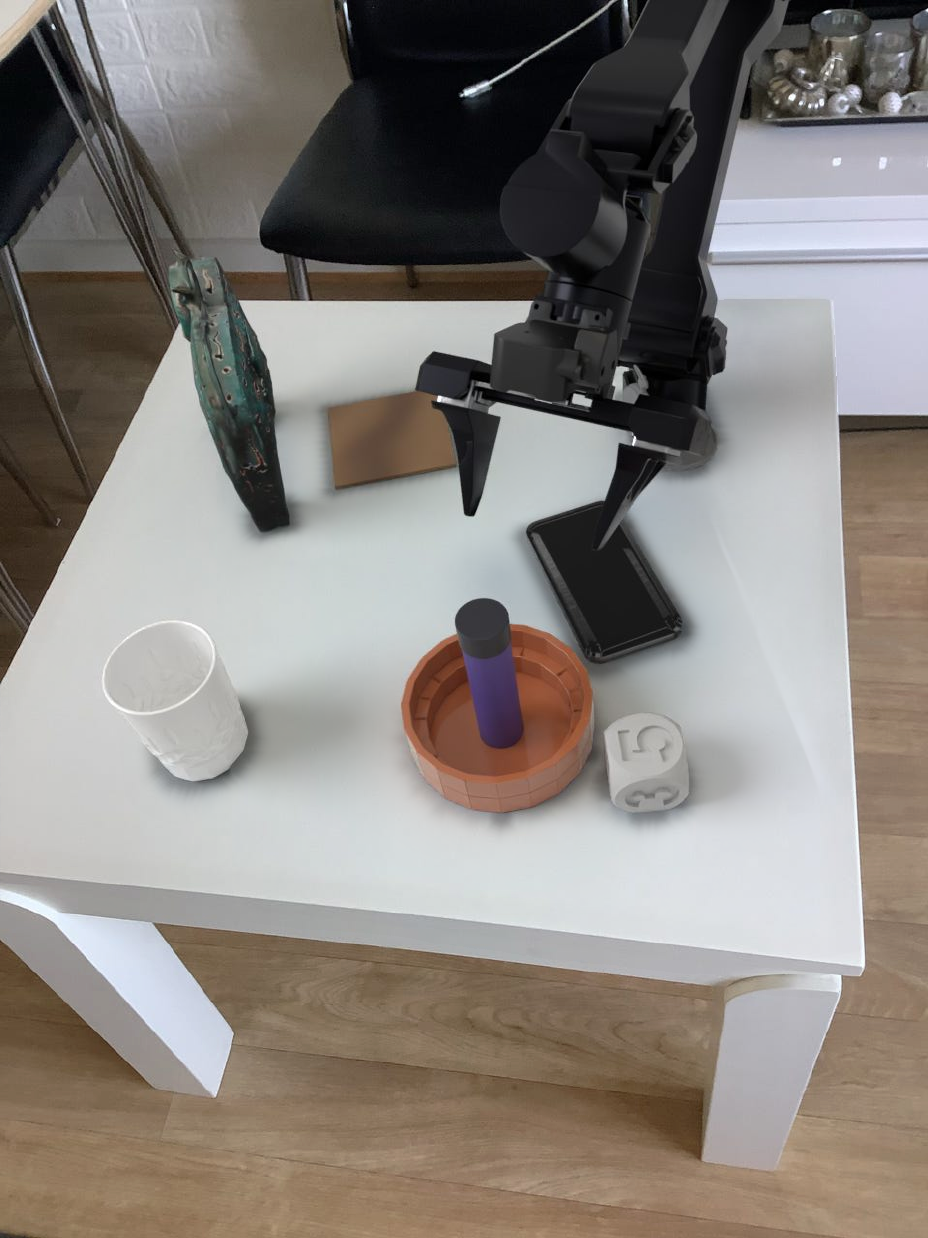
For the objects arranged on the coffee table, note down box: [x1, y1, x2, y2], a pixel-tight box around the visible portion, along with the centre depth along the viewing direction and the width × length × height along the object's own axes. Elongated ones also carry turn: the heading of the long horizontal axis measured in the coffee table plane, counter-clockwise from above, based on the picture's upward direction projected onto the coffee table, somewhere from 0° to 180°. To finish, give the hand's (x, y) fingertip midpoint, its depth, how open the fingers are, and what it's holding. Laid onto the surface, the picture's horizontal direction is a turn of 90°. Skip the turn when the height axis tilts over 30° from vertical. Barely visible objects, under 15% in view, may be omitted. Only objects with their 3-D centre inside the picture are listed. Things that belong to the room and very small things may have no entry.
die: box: [602, 712, 690, 814], centre depth 70 cm, size 5×5×5 cm
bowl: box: [400, 623, 596, 813], centre depth 74 cm, size 13×13×4 cm
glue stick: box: [454, 597, 524, 749], centre depth 71 cm, size 3×3×13 cm
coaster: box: [327, 390, 457, 490], centre depth 97 cm, size 11×11×1 cm
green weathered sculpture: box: [168, 247, 291, 533], centre depth 90 cm, size 20×6×20 cm, turn 15°
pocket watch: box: [621, 365, 719, 472], centre depth 88 cm, size 8×8×10 cm
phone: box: [525, 500, 683, 665], centre depth 83 cm, size 8×1×15 cm
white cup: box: [101, 619, 249, 782], centre depth 75 cm, size 8×8×10 cm
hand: (531, 532), depth 70 cm, fingers open, 9 cm apart
